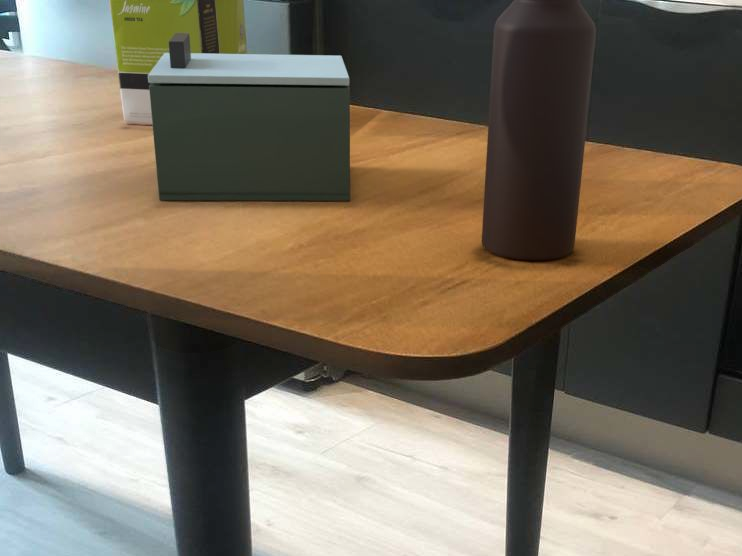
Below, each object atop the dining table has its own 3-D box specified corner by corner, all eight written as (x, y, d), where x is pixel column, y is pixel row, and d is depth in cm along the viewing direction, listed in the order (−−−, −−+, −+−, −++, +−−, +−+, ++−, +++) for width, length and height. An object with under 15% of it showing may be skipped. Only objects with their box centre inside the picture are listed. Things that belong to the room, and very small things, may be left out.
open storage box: (159, 200, 89) (148, 85, 84) (173, 164, 100) (165, 62, 96) (350, 201, 90) (349, 88, 86) (342, 165, 102) (341, 65, 97)
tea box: (171, 102, 130) (160, -37, 122) (252, 107, 128) (246, -33, 121) (120, 124, 117) (104, -30, 109) (209, 129, 115) (199, -26, 108)
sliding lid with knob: (148, 83, 84) (145, 46, 83) (164, 60, 96) (162, 27, 94) (349, 85, 86) (349, 50, 84) (341, 62, 97) (341, 31, 96)
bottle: (582, 263, 76) (616, -59, 66) (486, 262, 76) (506, -62, 66) (565, 237, 82) (594, -62, 72) (476, 235, 82) (493, -65, 72)
